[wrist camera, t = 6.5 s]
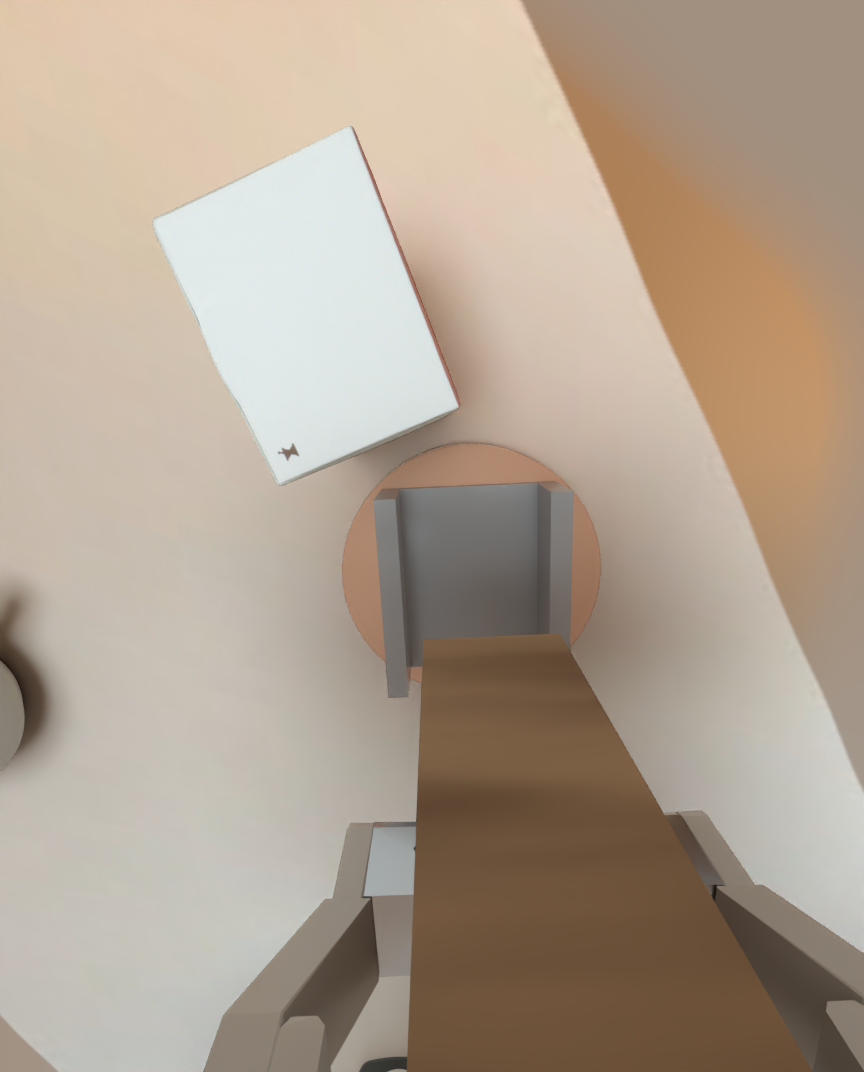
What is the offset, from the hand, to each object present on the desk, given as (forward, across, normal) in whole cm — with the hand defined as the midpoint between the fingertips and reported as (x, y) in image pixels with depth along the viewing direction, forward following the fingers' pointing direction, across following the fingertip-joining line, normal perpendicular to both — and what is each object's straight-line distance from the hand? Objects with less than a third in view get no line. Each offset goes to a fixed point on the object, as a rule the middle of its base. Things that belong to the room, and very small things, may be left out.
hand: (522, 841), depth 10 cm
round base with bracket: (+20, 0, 0) cm, 20 cm away
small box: (+20, +5, -11) cm, 23 cm away
